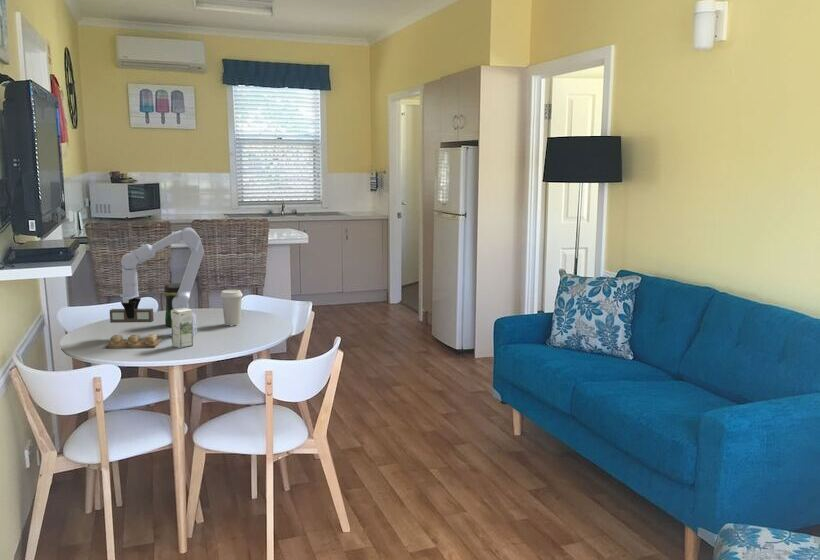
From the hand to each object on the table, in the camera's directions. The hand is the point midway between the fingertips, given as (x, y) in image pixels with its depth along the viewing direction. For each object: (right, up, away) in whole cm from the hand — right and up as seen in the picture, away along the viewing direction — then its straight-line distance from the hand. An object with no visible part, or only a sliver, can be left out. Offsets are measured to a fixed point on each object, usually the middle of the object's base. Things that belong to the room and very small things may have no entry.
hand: (131, 317), depth 276 cm
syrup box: (+24, -11, -11) cm, 29 cm away
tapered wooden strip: (0, -2, 0) cm, 2 cm away
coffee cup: (+34, -5, +26) cm, 43 cm away
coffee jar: (+10, -5, +25) cm, 27 cm away
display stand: (+5, -10, -10) cm, 15 cm away
